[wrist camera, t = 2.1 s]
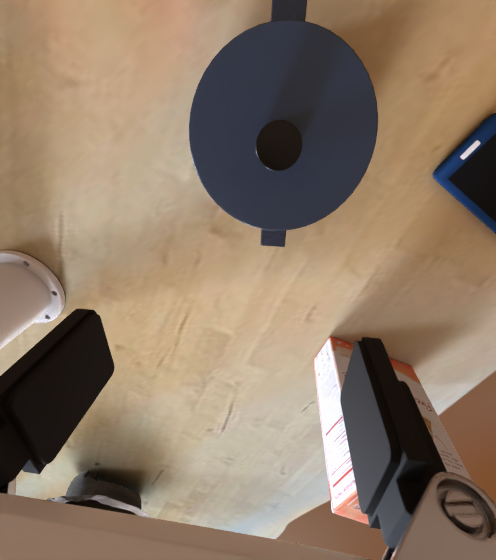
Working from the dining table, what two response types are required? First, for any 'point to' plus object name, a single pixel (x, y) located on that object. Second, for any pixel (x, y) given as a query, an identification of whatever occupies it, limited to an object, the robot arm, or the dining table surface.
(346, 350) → the cracker box
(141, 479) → the dining table surface
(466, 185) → the cell phone
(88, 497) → the stone bowl
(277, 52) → the lid
